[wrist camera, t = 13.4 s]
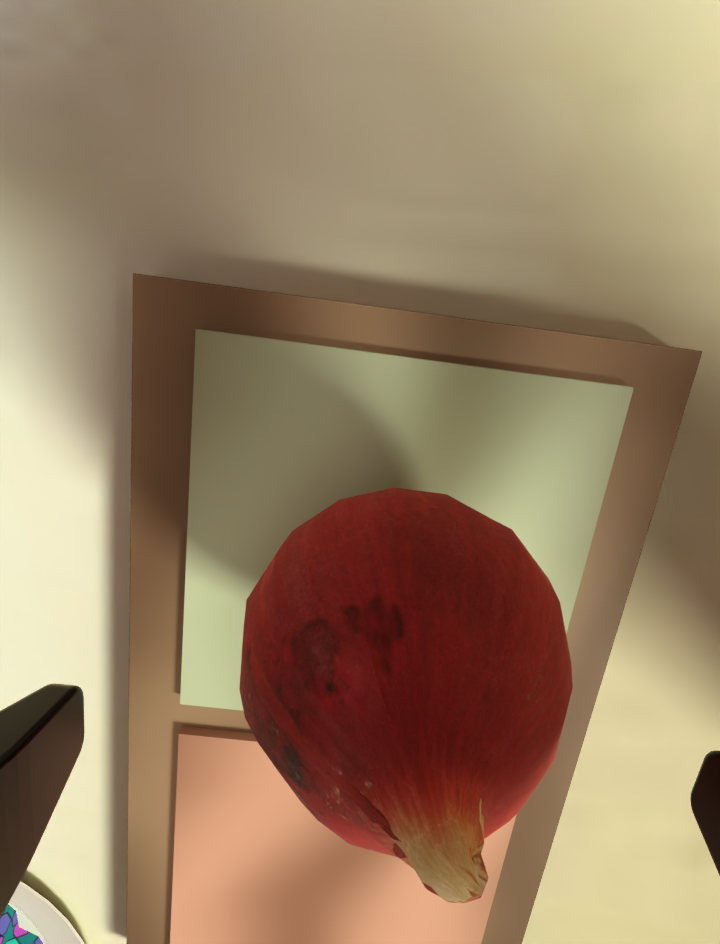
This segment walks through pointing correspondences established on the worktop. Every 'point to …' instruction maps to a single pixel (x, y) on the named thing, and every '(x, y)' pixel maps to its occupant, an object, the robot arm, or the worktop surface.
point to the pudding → (35, 920)
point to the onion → (408, 677)
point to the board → (302, 497)
